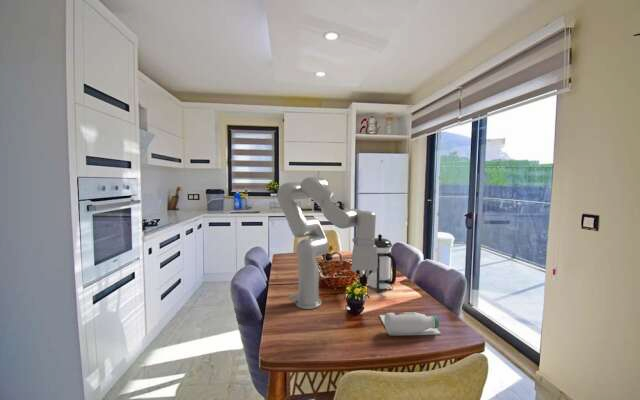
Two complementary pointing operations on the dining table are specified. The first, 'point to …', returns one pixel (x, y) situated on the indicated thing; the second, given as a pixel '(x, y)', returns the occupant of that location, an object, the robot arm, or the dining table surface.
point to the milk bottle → (409, 323)
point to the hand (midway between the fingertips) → (363, 285)
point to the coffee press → (383, 266)
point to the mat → (426, 332)
